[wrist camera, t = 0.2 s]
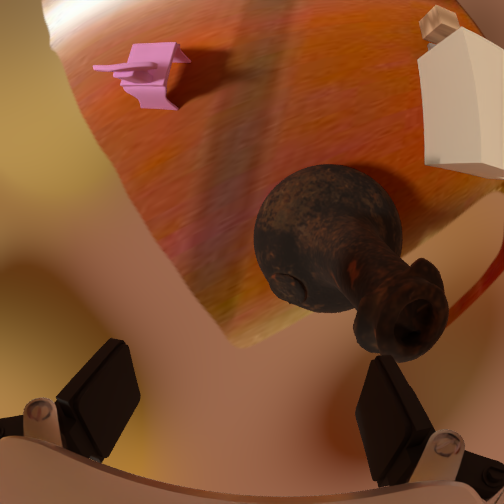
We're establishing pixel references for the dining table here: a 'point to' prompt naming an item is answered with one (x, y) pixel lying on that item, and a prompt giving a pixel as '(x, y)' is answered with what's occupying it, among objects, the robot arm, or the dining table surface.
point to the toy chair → (148, 72)
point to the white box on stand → (464, 105)
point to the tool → (438, 25)
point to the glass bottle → (349, 259)
